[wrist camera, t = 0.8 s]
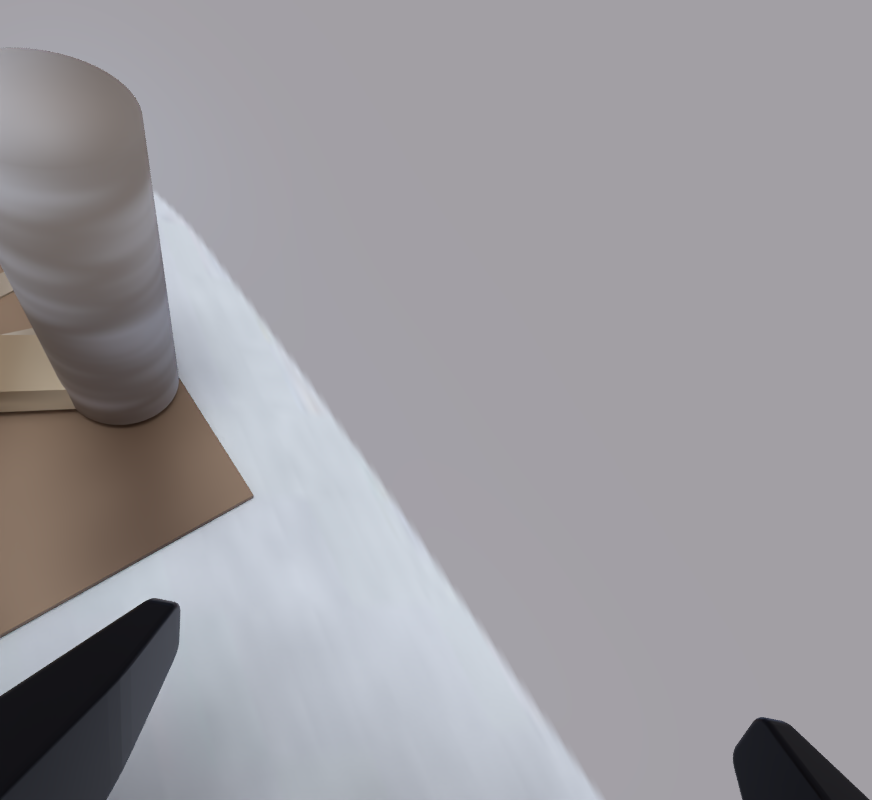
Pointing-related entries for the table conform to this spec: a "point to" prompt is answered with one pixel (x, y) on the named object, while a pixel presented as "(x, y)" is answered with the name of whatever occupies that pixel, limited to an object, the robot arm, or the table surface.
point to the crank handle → (80, 245)
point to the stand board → (97, 491)
